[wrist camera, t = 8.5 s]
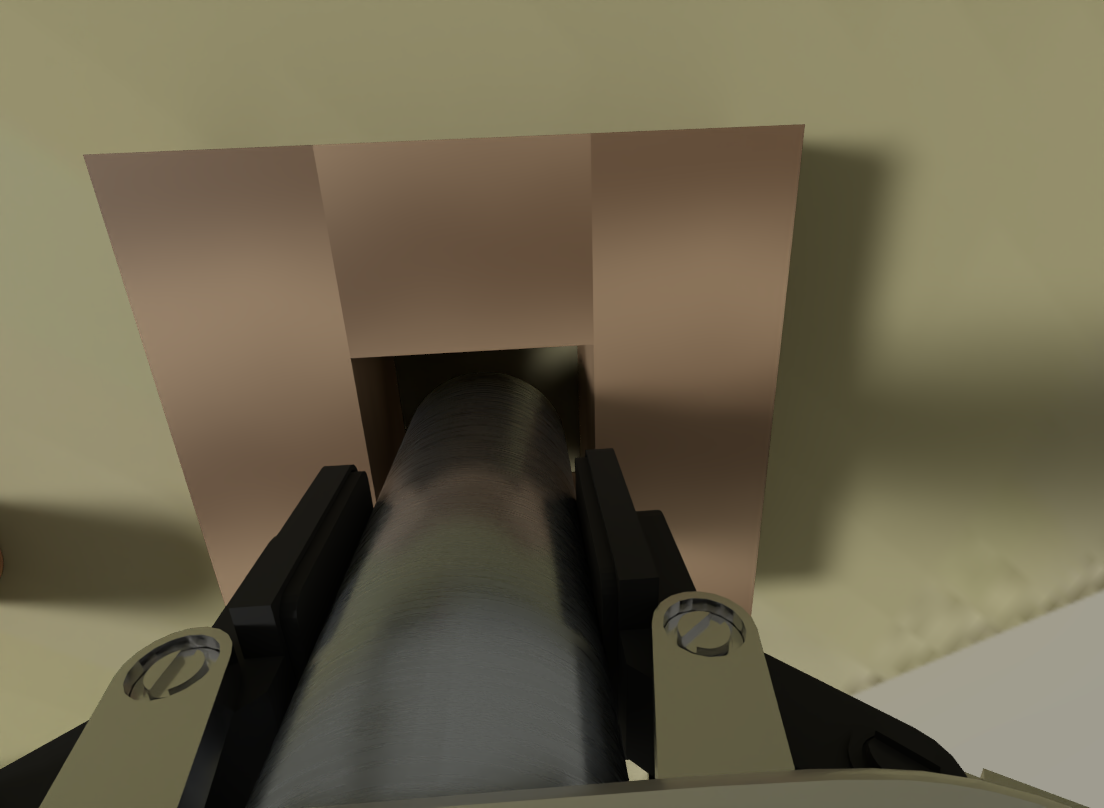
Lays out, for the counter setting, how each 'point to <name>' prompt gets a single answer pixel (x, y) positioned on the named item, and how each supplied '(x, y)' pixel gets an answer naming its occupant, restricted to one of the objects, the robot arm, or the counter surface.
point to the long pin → (458, 624)
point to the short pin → (1, 563)
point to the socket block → (464, 309)
